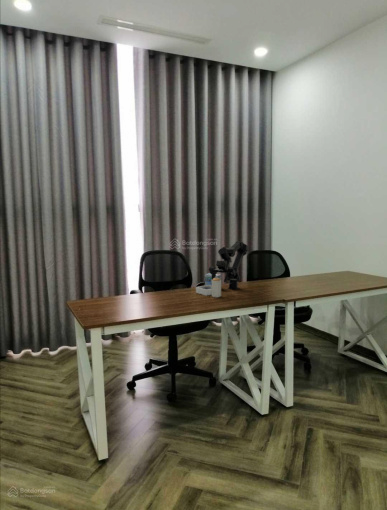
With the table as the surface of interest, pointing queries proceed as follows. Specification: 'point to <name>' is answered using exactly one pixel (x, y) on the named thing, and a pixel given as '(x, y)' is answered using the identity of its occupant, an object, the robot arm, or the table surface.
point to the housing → (204, 290)
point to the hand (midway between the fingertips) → (218, 281)
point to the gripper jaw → (216, 287)
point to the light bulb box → (210, 278)
